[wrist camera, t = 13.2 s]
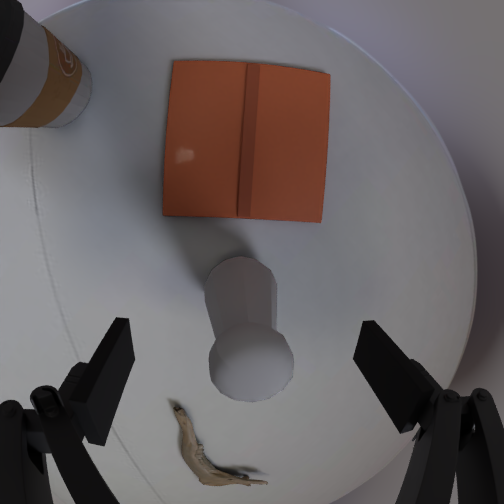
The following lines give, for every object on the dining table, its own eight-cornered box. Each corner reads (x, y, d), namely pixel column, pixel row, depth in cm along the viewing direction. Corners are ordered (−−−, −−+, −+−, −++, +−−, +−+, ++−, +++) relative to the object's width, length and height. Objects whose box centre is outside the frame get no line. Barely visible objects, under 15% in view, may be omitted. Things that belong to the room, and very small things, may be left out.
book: (174, 63, 20) (173, 59, 19) (328, 76, 21) (331, 73, 20) (164, 214, 23) (161, 216, 22) (319, 221, 25) (322, 223, 24)
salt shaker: (265, 242, 25) (307, 314, 12) (278, 302, 26) (319, 403, 14) (197, 258, 24) (175, 344, 12) (215, 317, 26) (212, 426, 14)
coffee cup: (116, 106, 20) (6, 49, 6) (44, 156, 21) (-82, 162, 6) (91, 39, 18) (4, -38, 4) (24, 88, 18) (-82, 60, 4)
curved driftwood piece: (218, 486, 35) (217, 496, 33) (126, 417, 30) (121, 428, 28) (268, 475, 34) (269, 485, 32) (180, 400, 29) (176, 413, 27)
